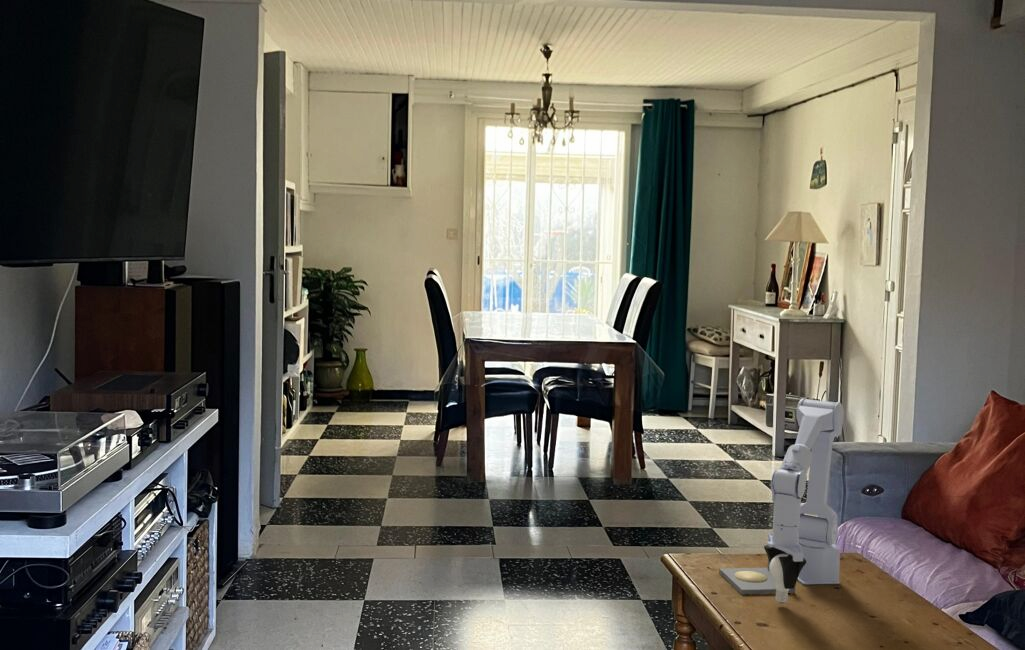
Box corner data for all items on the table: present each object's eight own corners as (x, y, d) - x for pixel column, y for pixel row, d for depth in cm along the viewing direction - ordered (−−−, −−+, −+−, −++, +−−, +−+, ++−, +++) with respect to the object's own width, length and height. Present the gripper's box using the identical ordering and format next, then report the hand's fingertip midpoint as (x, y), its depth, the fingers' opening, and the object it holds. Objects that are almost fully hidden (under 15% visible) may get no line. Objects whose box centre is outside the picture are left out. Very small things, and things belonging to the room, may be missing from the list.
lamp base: (770, 572, 243) (771, 547, 242) (795, 593, 228) (797, 567, 227) (719, 573, 241) (720, 548, 240) (741, 594, 226) (742, 568, 225)
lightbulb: (797, 609, 215) (801, 560, 215) (767, 605, 217) (771, 556, 216) (794, 600, 222) (798, 552, 221) (765, 596, 223) (769, 549, 222)
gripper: (756, 514, 225) (753, 572, 226) (782, 533, 210) (779, 594, 211) (785, 514, 226) (782, 571, 227) (813, 532, 211) (810, 594, 212)
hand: (783, 582), depth 219 cm, fingers closed on lightbulb, 6 cm apart
